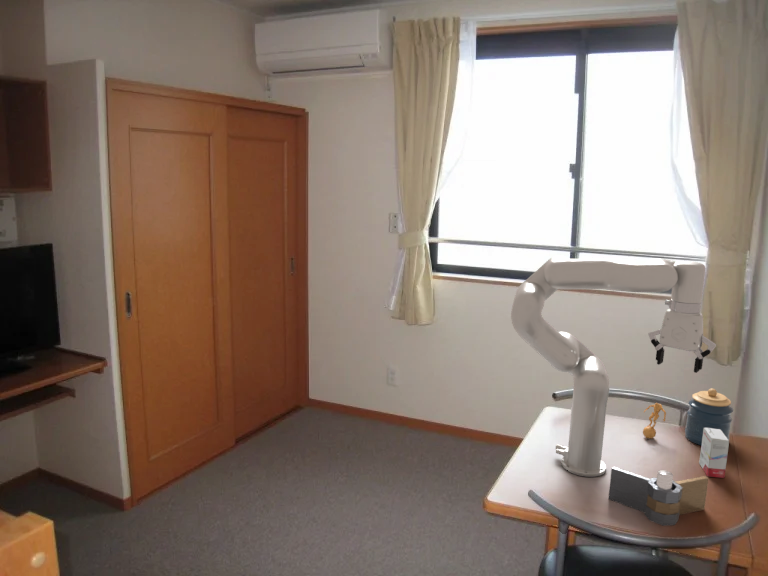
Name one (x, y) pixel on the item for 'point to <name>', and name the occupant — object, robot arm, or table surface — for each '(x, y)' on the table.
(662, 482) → the hinge pin
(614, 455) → the table surface
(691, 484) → the bronze hinge leaf
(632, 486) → the fixed hinge leaf
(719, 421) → the canister
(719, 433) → the ink box
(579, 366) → the robot arm
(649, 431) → the figurine
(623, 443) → the table surface
